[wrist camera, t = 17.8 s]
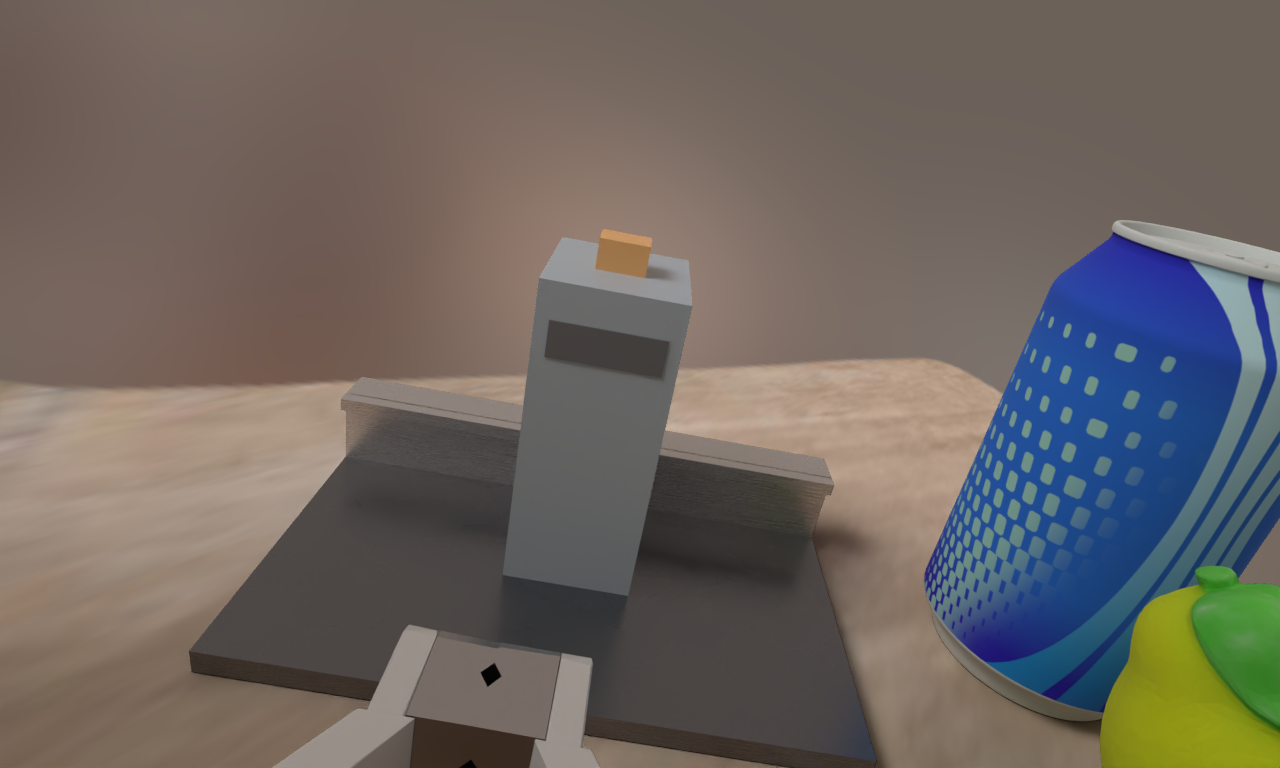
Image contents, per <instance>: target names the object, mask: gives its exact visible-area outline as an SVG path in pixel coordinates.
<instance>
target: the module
mask: <svg viewBox="0 0 1280 768" xmlns="http://www.w3.org/2000/svg"><path fill="white" fill-rule="evenodd" d="M651 244H652V238H648V237H643V236H638V235H633V234H627V233H621V232H617V231H611V230H606V229H603V232H602V234H601V236H600V241H599V244H597V243H590V242H586V241H580V240H575V239H569V238H564V237H563V238H562V239H561V241H560V243H559V245H558V246H557V248H556V250H555V251H554V253H553V255H552V257H551V258H550V260H549V262H548V263H547V265H546V267H545V269H544V270H543V272H542V274H541V275H540V277H539V283H538V291H537V299H536V307H535V315H534V324H533V332H532V339H531V348H530V356H529V364H528V372H527V380H526V388H525V396H524V405H523V413H522V421H521V429H520V437H519V445H518V453H517V462H516V470H515V478H514V486H513V494H512V502H511V510H510V519H509V527H508V535H507V543H506V551H505V559H504V567H503V575H506V576H512V577H518V578H524V579H530V580H536V581H542V582H548V583H554V584H560V585H566V586H572V587H578V588H584V589H590V590H596V591H602V592H608V593H614V594H620V595H626V596H628V594H629V590H630V585H631V581H632V576H633V572H634V567H635V563H636V558H637V554H638V549H639V545H640V540H641V536H642V531H643V527H644V522H645V518H646V513H647V509H648V504H649V500H650V495H651V491H652V486H653V482H654V477H655V473H656V468H657V464H658V459H659V455H660V450H661V446H662V441H663V437H664V432H665V427H666V423H667V418H668V414H669V409H670V405H671V400H672V396H673V391H674V387H675V382H676V378H677V373H678V369H679V364H680V360H681V355H682V351H683V346H684V341H685V337H686V332H687V328H688V324H689V319H690V315H691V310H692V297H691V284H690V273H689V262H688V260H682V259H677V258H671V257H666V256H661V255H655V254H650V251H651Z"/></svg>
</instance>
